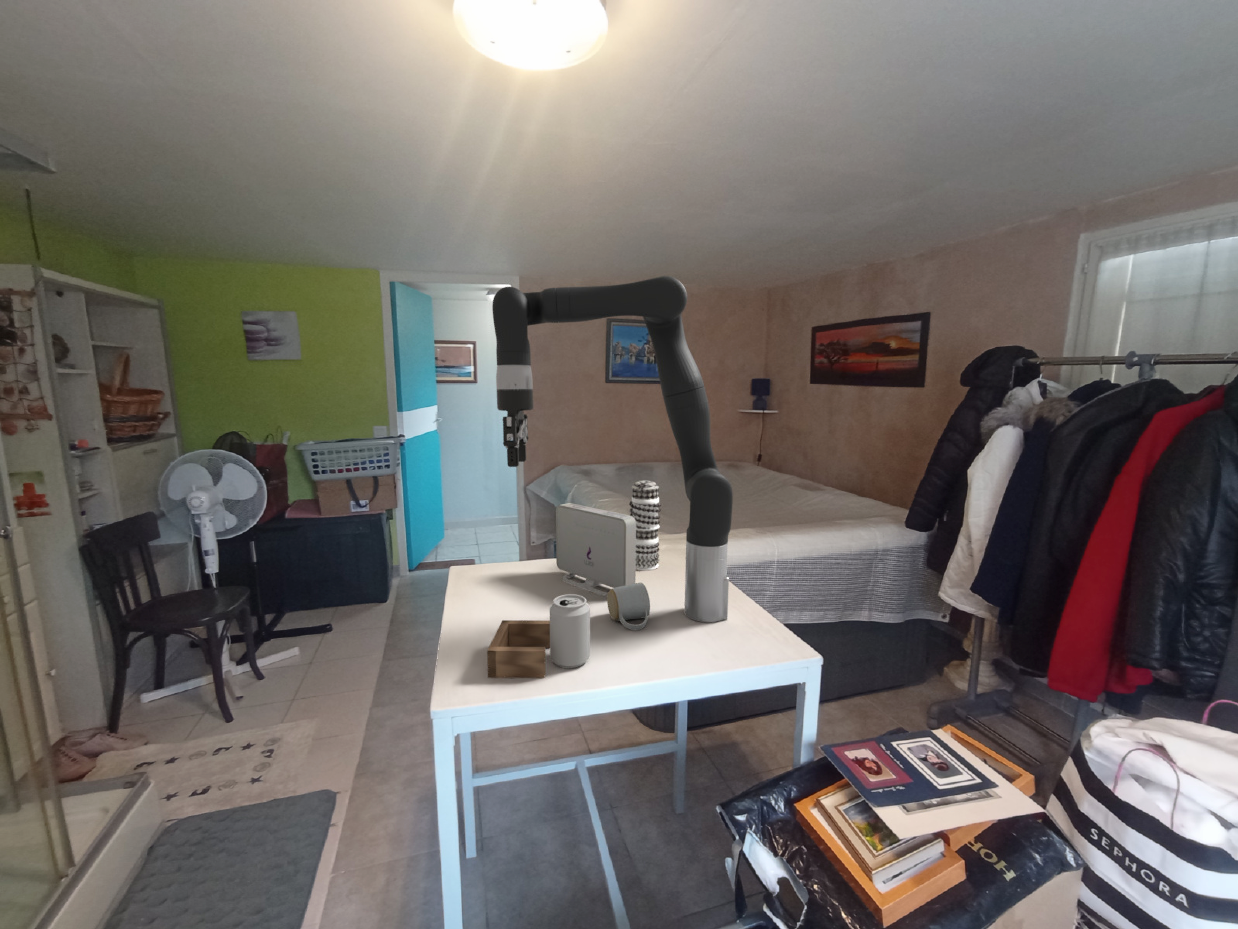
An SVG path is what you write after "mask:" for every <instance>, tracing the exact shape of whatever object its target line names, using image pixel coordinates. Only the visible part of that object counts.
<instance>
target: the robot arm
mask: <svg viewBox="0 0 1238 929" xmlns="http://www.w3.org/2000/svg"><path fill="white" fill-rule="evenodd" d="M687 303H688V293H687V289H686V287H685V286H684V284H683V283H682V282H681V281H680V280H679V279H678V278H676V277H674V276H669V275H663V276H657V277H652V278H648V279H643V280H639V281H634V282H629V283H621V284H613V285H597V286H596V285H595V286H594V285H593V286H569V287H568V286H565V287H564V286H562V287H549V288H545V289H543V290H542V291H533V292H522V291H521V290H520V289H519V288H516V287H514V286H505V287H501V288H500V289H499V290H498V291H497V292H496V293H495V294H494V297H493V300H492V306H491V307H492V308H491V309H492V319H493V326H494V333H495V339H496V349H495V350H496V352H495V353H496V375H495V379H496V380H495V381H496V382H495V384H496V407H497V410H498V411H503V412H506V416H502V432H503V433H502V434H503V435H502V436H503V437H502V438H503V442H502V444H503V447H505V449H506V457H507V467H510V468H516V467H517V468H518V467H519V465H520V463H521V462H526V461H527V443H528V441H529V427H528V426H529V425H528V417H529V416H528V414H524V411H532V410H533V409H534V386H533V385H534V382H533V372H532V371H533V370H532V360H531V359H532V357H531V355H532V354H531V346H530V345H531V344H530V341H529V338H528V337H529V336H528V326H535V325H541V324H549V323H550V324H552V323H553V324H559V323H561V324H562V323H566V324H567V323H579V322H589V321H594V320H600V319H601V320H602V319H607V318H614V317H626V316H627V317H628V316H629V317H632V316H633V317H642V318H643V321H644V324H645V327H646V329H647V331H648V336H649V338H650V340H651V343H652V346H653V350H654V354H655V360H656V367H657V372H658V373H657V374H658V378H659V383H660V390H661V395H662V398H663V402H664V406H665V411H666V414H667V416H668V421H669V425H670V428H671V430H672V434H673V436H674V439H675V442H676V445H677V448H678V451H679V455H680V460H681V465H682V466H681V468H682V473H683V481H684V482H683V483H684V490H685V494H686V497H687V499H688V501H689V522H688V526H687V529H686V537H685V538H686V539H685V540H686V541H685V542H686V543H685V547H686V548H685V549H686V550H685V572H684V573H685V574H684V575H685V578H684V579H685V580H684V581H685V583H684V615H685V616H686V617H688V618H689V619H691V620H693V621H697V622H702V623H711V622H712V623H715V622H720V621H722V620H728V613H729V587H730V578H729V577H728V574H727V572H728V548H729V547H728V544H729V534H730V532H731V528H732V520H733V519H732V516H733V503H734V502H733V501H734V499H733V498H734V495H733V487H732V484H731V483H730V481H729V479H727V477H726V476H724V475H723V474H721V472H720V470H719V468H718V464H717V462H716V459H715V455H714V452H713V448H712V442H711V414H710V413H711V411H710V405H709V401H708V396H707V391H706V388H705V384H704V383H705V382H704V380H703V376H702V375H701V372H700V369H699V367H698V365H697V363H696V360H695V359H694V356H693V354H692V353H691V350H690V349H689V346H688V343H687V338H686V335H685V330H684V324H683V316H682V313H683V312H684V310H685V308H686V306H687Z"/></svg>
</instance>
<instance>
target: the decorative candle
mask: <svg viewBox="0 0 1238 929" xmlns="http://www.w3.org/2000/svg"><path fill="white" fill-rule="evenodd" d="M659 488H660V486H658V485H657V483H656V482H655V481H653V480H648V479H647V480H645V479H644V480H637V481H635V482H634V484H633V485H632V486H631V489H632V495H631V500H630V501H629V506H630V508H629V512H630V515H629V516H632V517H634V518H635V520H636V570H637V571H643V572H644V571H645V572H646V571H654V570H656V568H657V569H658V568H659V567H660V565H659V562H660V559H659V558H660V554H659V551H660V548H659V547H660V542H659V529H660V527H661V526H660V525H659V524H661V521H660V518H661V515H659V513H660V512H662V510H661V508H660V507H661V506H662V504H661V503H660V497H659V490H660V489H659Z"/></svg>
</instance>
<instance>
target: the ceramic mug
mask: <svg viewBox="0 0 1238 929" xmlns="http://www.w3.org/2000/svg"><path fill="white" fill-rule="evenodd" d="M607 593H608V595H607V596H606V601H607V602H606V603H607V609H608V613H609V615H610V618H612V620H614V621H617V622H618V621H620V623H621V624H622V625H623V626H624V628H626V629H628V630H631V631H639V630H642V629H644V628H645V627H646V626H647V623H648V617H649V616H650V613H651V612H650V611H651V601H650V600H651V599H650V597H649V592H648V589H647V587H646V585H645V584H644V583H643V582H637V583H636V582H635V584H631V585H626V586H620V587H616V588H610V589H609V591H608V592H607ZM637 619H644V620H643V622H641V623H640V624H632V623H628V622H627V621H629V620H637Z"/></svg>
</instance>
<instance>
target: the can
mask: <svg viewBox="0 0 1238 929" xmlns="http://www.w3.org/2000/svg"><path fill="white" fill-rule="evenodd" d="M549 621H550V648H549V658H550V661H551V662H553V663H554V664H555V665H556V666H558V667H560V668H563V669H573V668H579V667H580V666H582V665H584V664H585V663H586V662H588V660H589V659H590V657H591V607H590V605H589V604H588V603H587V599H586V597H585V596H582V595H581V594H575V593H573V594H572V593H569V594H562V595H558V596H555V598H554V599H553V600H552V605H551V606H550V607H549Z"/></svg>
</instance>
